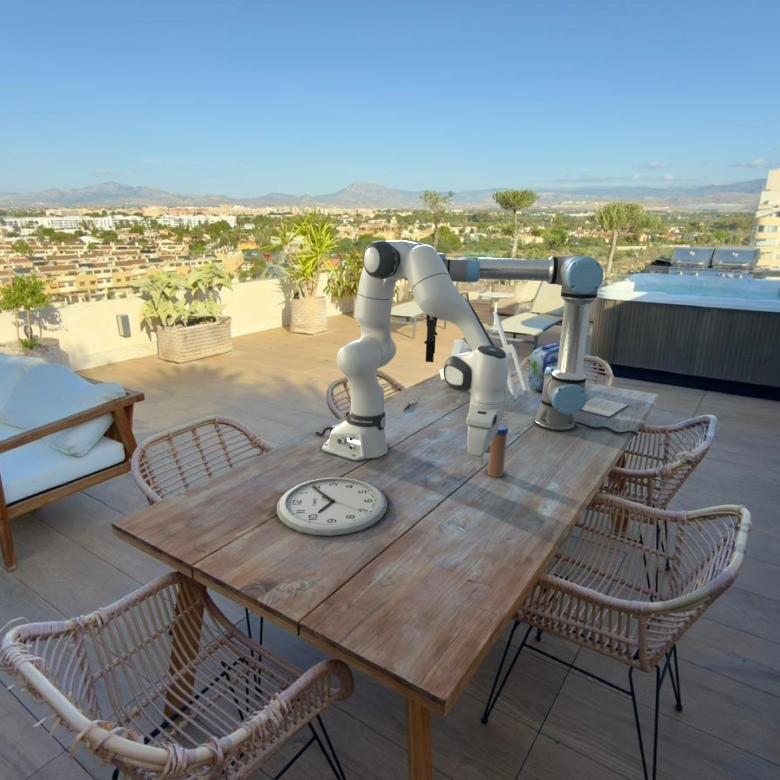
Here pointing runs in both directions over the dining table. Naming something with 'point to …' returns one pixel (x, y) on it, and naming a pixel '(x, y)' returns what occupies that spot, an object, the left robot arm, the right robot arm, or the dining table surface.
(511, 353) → the white plastic object
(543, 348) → the lunch box
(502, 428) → the lid
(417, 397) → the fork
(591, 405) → the invitation card
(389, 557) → the dining table surface
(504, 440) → the jar
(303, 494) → the wall clock
